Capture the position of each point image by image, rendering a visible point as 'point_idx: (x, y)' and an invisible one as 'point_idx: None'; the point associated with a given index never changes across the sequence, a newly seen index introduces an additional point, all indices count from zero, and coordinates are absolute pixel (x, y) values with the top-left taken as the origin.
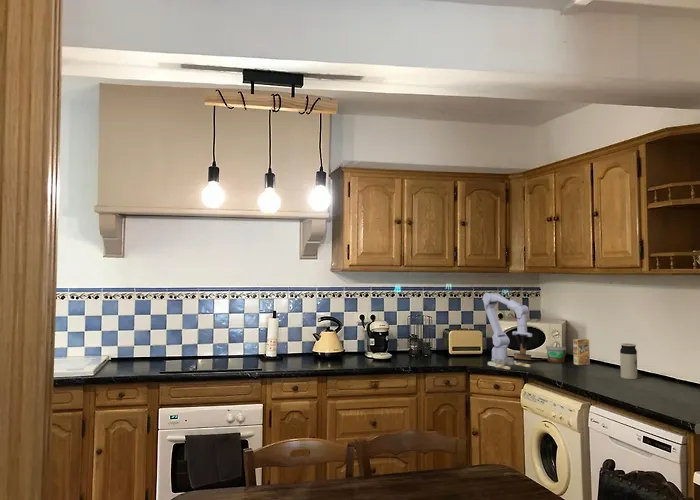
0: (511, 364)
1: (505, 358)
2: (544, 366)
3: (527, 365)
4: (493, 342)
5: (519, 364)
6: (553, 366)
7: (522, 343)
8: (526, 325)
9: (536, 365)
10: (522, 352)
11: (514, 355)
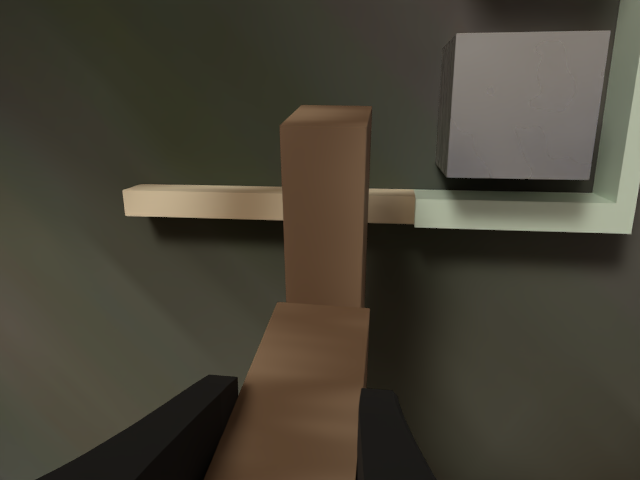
0: (438, 114)
1: (556, 33)
2: (119, 397)
3: (165, 188)
4: None
5: None
6: None
7: (151, 442)
8: None
9: None
10: (281, 321)
11: (351, 116)
